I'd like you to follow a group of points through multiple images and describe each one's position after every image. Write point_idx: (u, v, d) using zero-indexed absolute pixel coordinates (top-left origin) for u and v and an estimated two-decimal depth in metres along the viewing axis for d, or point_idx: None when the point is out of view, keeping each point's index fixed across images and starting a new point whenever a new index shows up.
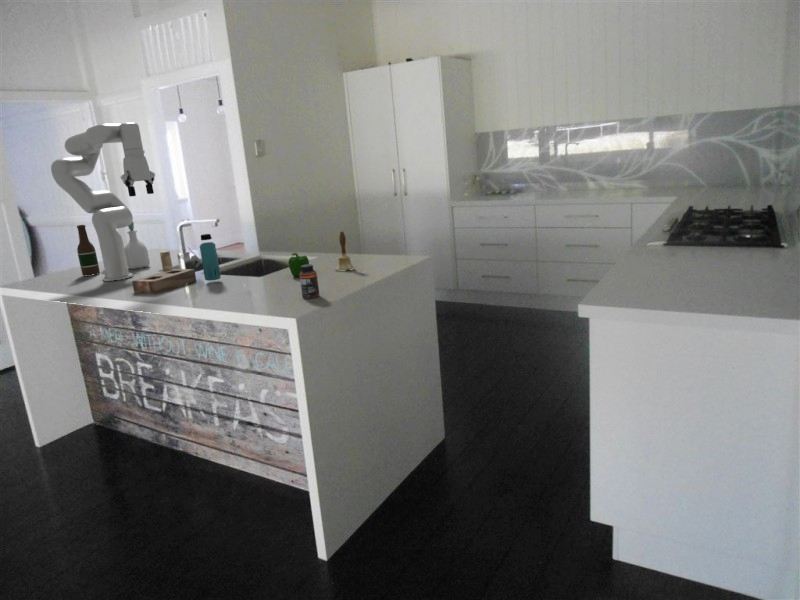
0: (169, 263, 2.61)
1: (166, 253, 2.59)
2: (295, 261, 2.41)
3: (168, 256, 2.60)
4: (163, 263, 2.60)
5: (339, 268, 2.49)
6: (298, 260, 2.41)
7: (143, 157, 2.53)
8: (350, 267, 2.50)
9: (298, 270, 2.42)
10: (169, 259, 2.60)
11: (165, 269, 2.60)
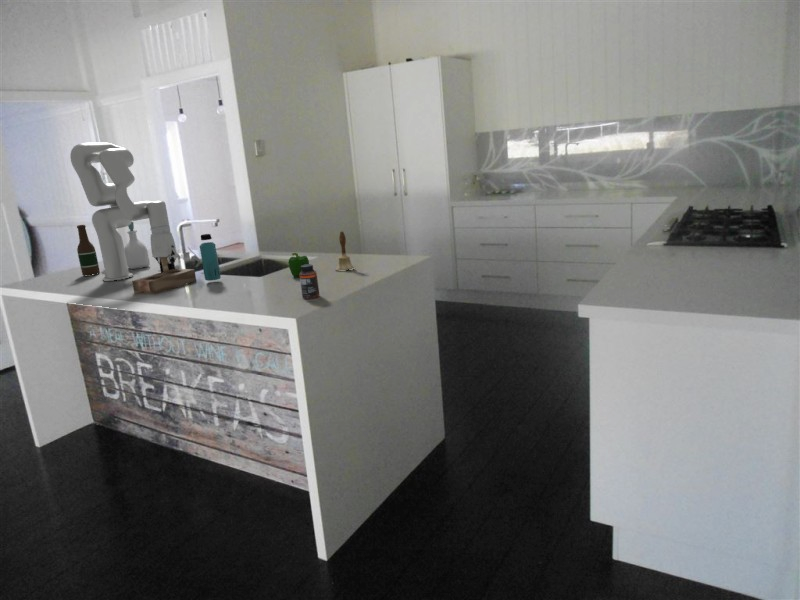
0: None
1: None
2: (295, 261, 2.41)
3: None
4: (163, 263, 2.60)
5: (339, 268, 2.49)
6: (298, 260, 2.41)
7: None
8: (350, 267, 2.50)
9: (298, 270, 2.42)
10: None
11: (165, 269, 2.60)
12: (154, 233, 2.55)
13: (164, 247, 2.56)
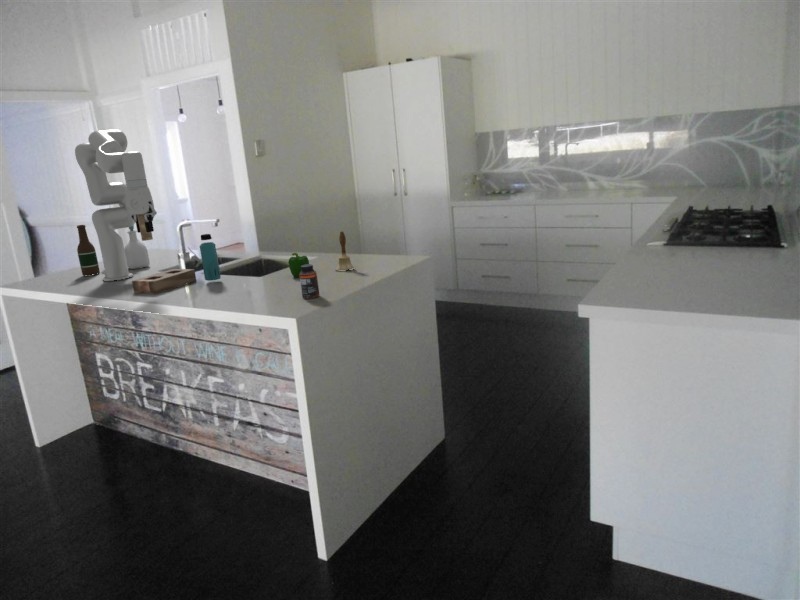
0: None
1: None
2: (295, 261, 2.41)
3: None
4: (140, 221, 2.35)
5: (339, 268, 2.49)
6: (298, 260, 2.41)
7: None
8: (350, 267, 2.50)
9: (298, 270, 2.42)
10: None
11: (142, 228, 2.35)
12: (129, 187, 2.30)
13: (140, 203, 2.31)
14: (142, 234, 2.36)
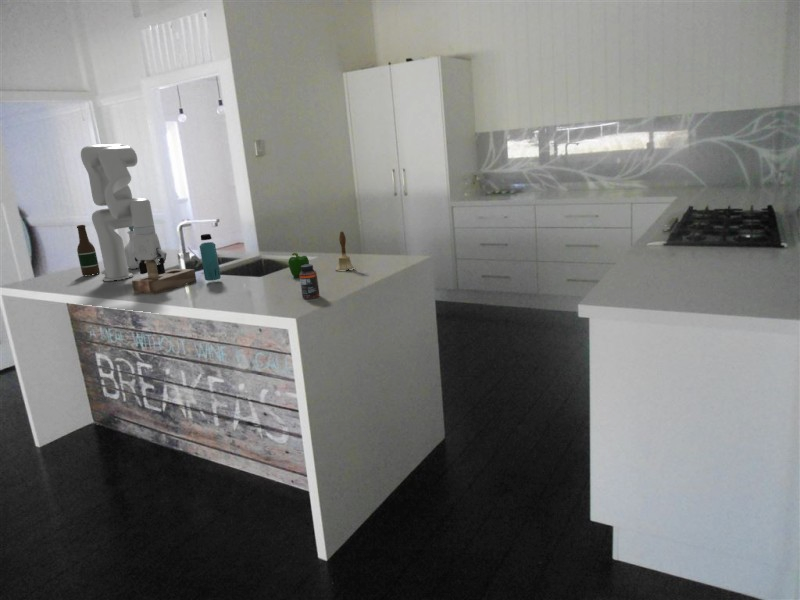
0: (155, 270, 2.40)
1: None
2: (295, 261, 2.41)
3: (154, 263, 2.39)
4: (149, 270, 2.39)
5: (339, 268, 2.49)
6: (298, 260, 2.41)
7: None
8: (350, 267, 2.50)
9: (298, 270, 2.42)
10: (155, 266, 2.40)
11: (151, 277, 2.39)
12: (137, 234, 2.34)
13: (148, 249, 2.35)
14: None
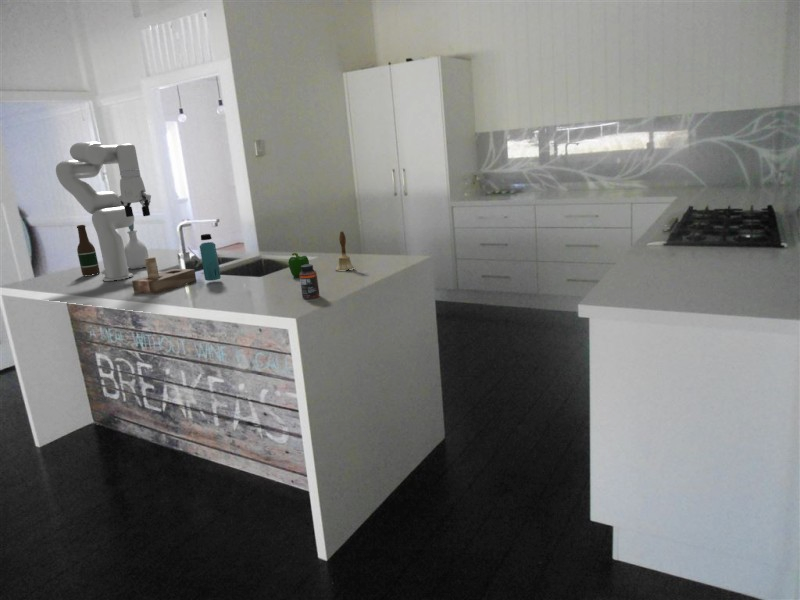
0: (155, 270, 2.40)
1: (151, 259, 2.38)
2: (295, 261, 2.41)
3: (154, 263, 2.39)
4: (148, 270, 2.39)
5: (339, 268, 2.49)
6: (298, 260, 2.41)
7: None
8: (350, 267, 2.50)
9: (298, 270, 2.42)
10: (155, 266, 2.39)
11: (150, 277, 2.39)
12: (123, 177, 2.47)
13: (134, 192, 2.48)
14: None
